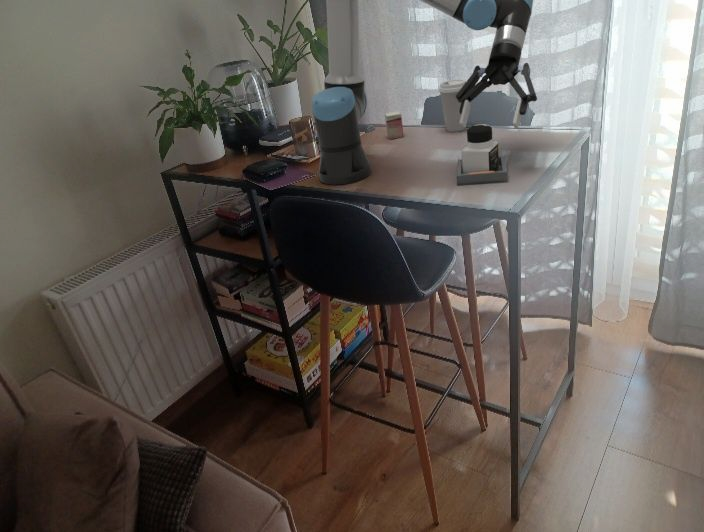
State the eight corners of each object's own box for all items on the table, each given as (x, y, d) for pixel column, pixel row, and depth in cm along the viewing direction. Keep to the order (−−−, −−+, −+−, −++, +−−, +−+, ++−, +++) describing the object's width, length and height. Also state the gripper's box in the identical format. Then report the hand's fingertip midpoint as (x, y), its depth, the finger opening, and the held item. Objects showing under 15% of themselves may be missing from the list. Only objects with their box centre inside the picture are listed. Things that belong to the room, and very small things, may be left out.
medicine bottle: (490, 178, 129) (488, 130, 124) (462, 177, 133) (460, 130, 127) (499, 168, 134) (498, 122, 129) (472, 167, 138) (470, 122, 132)
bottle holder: (457, 185, 130) (456, 175, 129) (458, 168, 140) (458, 158, 139) (507, 181, 127) (507, 171, 126) (505, 164, 137) (504, 154, 136)
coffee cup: (444, 125, 178) (441, 80, 171) (473, 124, 175) (470, 77, 167) (438, 134, 171) (434, 87, 163) (467, 132, 167) (465, 84, 160)
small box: (389, 139, 174) (386, 116, 170) (387, 136, 178) (384, 113, 174) (404, 137, 174) (401, 113, 170) (401, 133, 178) (399, 110, 174)
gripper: (560, 55, 130) (542, 133, 126) (464, 61, 143) (446, 132, 140) (555, 36, 123) (536, 118, 120) (456, 44, 136) (436, 118, 133)
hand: (488, 126), depth 130 cm, fingers open, 13 cm apart
